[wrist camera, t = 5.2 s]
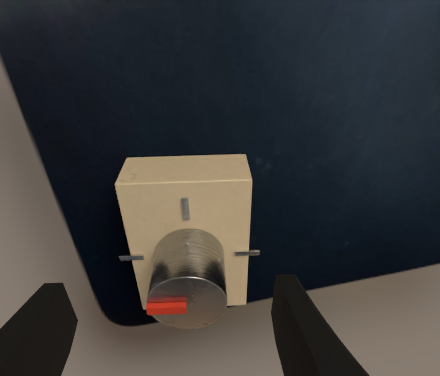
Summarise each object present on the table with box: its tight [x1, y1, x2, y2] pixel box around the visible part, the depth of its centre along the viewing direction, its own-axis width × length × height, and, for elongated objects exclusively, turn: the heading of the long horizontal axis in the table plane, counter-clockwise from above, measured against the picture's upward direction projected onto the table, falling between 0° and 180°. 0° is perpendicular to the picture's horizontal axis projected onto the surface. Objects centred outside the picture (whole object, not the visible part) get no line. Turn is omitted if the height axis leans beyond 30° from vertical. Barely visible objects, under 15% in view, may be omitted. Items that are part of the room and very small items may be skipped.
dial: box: [146, 229, 228, 329], centre depth 17 cm, size 4×4×4 cm
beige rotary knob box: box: [115, 154, 259, 309], centre depth 20 cm, size 10×8×3 cm
